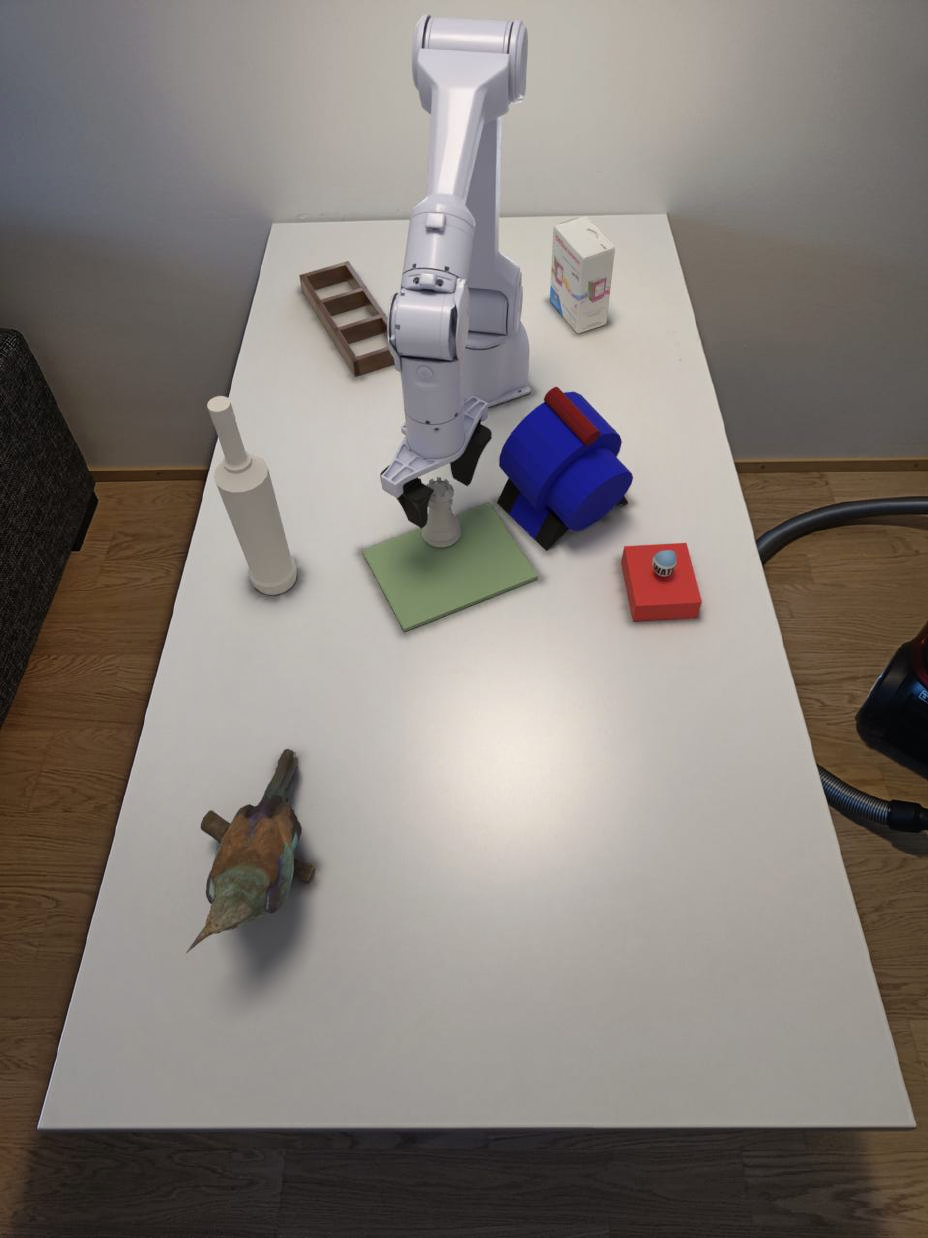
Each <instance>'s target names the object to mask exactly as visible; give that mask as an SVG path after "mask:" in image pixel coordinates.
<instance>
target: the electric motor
mask: <svg viewBox="0 0 928 1238" xmlns="http://www.w3.org/2000/svg"><path fill="white" fill-rule="evenodd" d="M622 443H623V441H622V438H621V435H620V434H619V433H618V432H617V430H616V429H615V428H614V427H612V426H611V424H610V423H609V422H608V421H607V420H606V419H605V418H604V417H603V416H602V415H601V414H600V413H599V412H598V411H597V410H596V409H595V407H593V406H592V404H591V403H590V402H589V401H588V400H587V399H586V398H585V397H584V396H583V394H580V393H579V392H576V391H562V390H561V388H559V387H558V386H553V387H552V388H550V390H548V391H547V392H546V393H545V394H544V396H543V402H542V403H541V404H539V405H538V406H536V407H534V409H533V410H531V411H530V412H529V413H528V414H526V415H525V417H523V418H522V419H521V420H520V422H519V423H518V424H517V425H516V426H515V428H513V430H512V431H511V433H510V434H509V436H508V437H507V439H506V440H505V442H504V444H503V445H502V448H501V451H500V453H499V456H498V466H499V468H500V470H501V471H502V472H503V473H504V474H505V475H506V476H507V480H506V482H505V484H504V486H503V488H502V491H501V492H500V495H499V497H498V499H497V501H496V503H497V505H498V506H500V508H501V509H502V510H504V511H505V513H507V514H508V515H509V516H510V517H511V518H512V519H513V520H514V521H515V522H516V523H517V524H518V525H519V526H520V527H521V528H522V529H523V530H524V531H525V532H526V533H527V534H528V535H529V536H530V537H531V538H532V539H534V540H535V542H536V543H537V544H538V545H540V546H541V547H542V548H543V549H544V550H545V551H548V550H549V549H550V548H551V547H552V546H553V545H555V544H556V542H558V540H560V539H561V538H562V537H563V536H564V535H565V534H566V533H567V532H568V531H570V532H575V533H576V532H579V531H583V530H585V529H587V528H589V527H591V526H592V525H594V524H596V523H597V522H599V521H600V520H602V519H603V518H604V517H605V516H606V515H608V514H609V513H610V512H611V511H612V510H614V508H615V507H617V506H622V505H628V504H629V501H628V500H627V498H626V496H625V495H626V494H627V493H628V491H629V490H630V488H631V486H632V484H633V480H634V475H633V473H632V472H631V471H630V470H629V469H628V468H627V466H626V465H625V464H624V463H623V462H622V461H621V460H620V459H619V458H618V455H619V454H620V452H621V447H622Z"/></svg>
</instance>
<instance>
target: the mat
mask: <svg viewBox="0 0 928 1238" xmlns="http://www.w3.org/2000/svg"><path fill="white" fill-rule="evenodd" d="M454 515H455V516H456V517H457V519H458V521H459V523H460V528H461V535H460V537H459V539H458V540H457V541H456V542H455V543H453V544H452V545H451V546H447V547H435V546H432V545H430V544H428V543H427V542H426V541H425V540H424V538H423V536H422V528H420V527H419V528H418V529H415V530H412V531H409V532H407V533H404V534H401V535H399V536H396V537H393V538H390V539H388V540H385V541H383V542H379V543H377V544H374V545H372V546H369V547H366V548H364V549H362V550H361V552H362V556H363V557H364V559H365V561H366V563H367V564H368V566H369V568H370V570H371V572H372V575H373V576H374V578H375V580H376V581H377V584H378V585H379V587H380V589H381V591H382V593H383V594H384V597H385V598H386V601H387V603H388V604H389V606H390V608H391V610H392V613H393V614H394V616H395V618H396V619H397V621H398V623H399V625H400V627H401V629H402V631H403V632H404V633H405V632H408V631H410V630H413V629H415V628H419V627H421V626H423V625H426V624H428V623H431V622H434V621H436V620H438V619H441V618H444V617H446V616H447V615H450V614H454V613H456V612H458V611H461V610H463V609H466V608H468V607H471V606H473V605H476V604H479V603H480V602H483V601H487V600H488V599H492V598H493V597H496V596H499V595H501V594H503V593H506V592H508V591H511V590H514V589H516V588H518V587H521V586H524V585H526V584H528V583H531V582H534V581H536V580H538V579H539V576H538V574H537V572H536V571H535V569H534V568H533V566H532V565H531V563H530V562H529V560H528V559H527V557H526V556H525V554H524V553H523V551H522V550H521V548H520V547H519V545H518V544H517V542H516V541H515V539H514V537H513V536H512V535H511V533H510V532H509V530H508V528H507V527H506V525H505V524H504V523H503V521H502V519H501V518H500V516H499V515H498V513H497V512H496V510H495V509H494V507H493V506H492V504H491V503H490V502H488V503H485V504H483V505H479V506H478V507H474V508H472V509H469V510H466V511H464V512H460V513H459V514H454Z"/></svg>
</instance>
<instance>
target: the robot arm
mask: <svg viewBox="0 0 928 1238" xmlns="http://www.w3.org/2000/svg"><path fill="white" fill-rule="evenodd" d="M528 35H529V34H528V29H527V27H526V25H525V24H524V21H523V20H522V19H519V18H517V19H514V21H513V20H497V19H480V18H479V19H478V18H464V17H463V18H461V17H443V16H442V17H441V16H431V14H422V16H421V17H420V18H419V20H418V21H417V22H416V24H415V27H414V30H413V35H412V43H411V73H412V74H411V75H412V80H413V81H412V82H413V84H414V87H415V89H416V90H417V92H418V97H419V101H420V107H421V108H422V109H423V110H424V111H426V113H428V115H430V125H429V143H428V144H429V145H428V159H427V161H428V162H427V180H426V196H425V198H424V199H423V200H422V201H420V202H419V203H418V204H417V205H414V207H413V208H412V210H411V212H410V217H409V223H408V231H407V238H406V246H405V253H404V259H403V267H402V273H401V280H400V287H399V288H400V289H399V293H398V292H397V291H394V292H393V293H392V295H391V297H390V299H389V300H390V301H389V305H388V309H387V310H388V311H387V318H388V319H387V334H388V339H387V347H389V350H390V353H391V355H392V356H393V358H394V363H395V364H394V370H395V371H396V372H398V373H400V381H401V389H402V390H401V391H402V400H403V401H402V402H403V410H404V421H405V422H403V423H402V424H401V426H400V430H401V431H400V432H401V433H402V434H403V435H404V438H403V439H402V441H401V443H400V446H399V447H398V449H397V451H396V453H395V455H394V457H393V458H392V460H391V462H390V464H389V465H388V466H386V467H385V468H384V469H383V470H382V471H380V475H379V476H380V477H379V478H380V483H381V489H382V491H384V492H386V493H387V494H389V495H390V496H392V497H394V498H395V499H396V500H397V502H398V503H399V505H400V506H401V508H402V510H403V512H404V514H405V516H406V519H407V521H408V522H410V523H411V524H413V525H415V526H416V527H418V528H419V529H420V528H423V527H424V526H425V525H426V524H427V520H428V512H429V507H428V503H429V500H430V497H431V495H432V493H433V492H434V490H433V489H431V488H430V487H428V486H427V484H425V483H423V481H422V478H420V477H422V476H424V475H426V474H429V473H430V472H433V471H435V470H437V469H440V468H441V467H444V466H446V465H449V467H450V474H451V476H452V479H454V480H455V481H457V482H459V483H461V484H462V485H464V486H465V487H468V486H470V484H472V481H473V478H474V475H475V472H476V470H477V466H478V464H479V461H480V458H481V456H482V454H483V452H484V451H485V448H486V447H487V445H488V444H489V443H490V441H492V439H493V438H492V437H493V434H492V430H491V429H490V428H489V427H487V426H485V425H483V424H482V423H483V422H485V421H486V420H487V419H488V418H489V408H490V407H493V406H496V405H499V404H502V403H505V402H508V401H511V400H513V399H516V398H519V397H523V396H526V395H528V394H530V393H531V387H530V386H529V370H530V369H529V367H530V342H529V337H528V333H527V330H526V328H525V326H524V324H523V322H522V321H521V319H522V311H523V300H524V299H523V298H524V290H523V289H524V287H523V285H522V283H523V279H522V278H523V275H522V271H521V267H520V265H519V264H517V262H515V261H514V260H512V259H511V258H509V257H508V256H507V255H505V254H504V253H502V252H501V251H499V248H500V247H499V245H500V244H499V242H500V200H501V199H500V196H501V159H502V157H501V155H502V154H501V153H502V152H501V151H502V150H501V149H502V117H503V116H504V115H507V114H508V113H509V110H510V105H517V104H520V103H523V101H524V98H525V96H526V90H527V71H528V70H527V67H528V52H529V51H528V50H529V36H528Z"/></svg>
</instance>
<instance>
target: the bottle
mask: <svg viewBox="0 0 928 1238" xmlns="http://www.w3.org/2000/svg"><path fill="white" fill-rule="evenodd" d="M206 407H207V410H208V413H209V415H210V418H211V421H212V424H213V427H214V429H215V431H216V434H217V438H218V440H219V443H220V446H221V449H222V452H223V455H224V457H223V459H222V461H221V462H220V463H219V464H218V465H217V467H215V470H214V474H213V479H214V482H215V485H216V487H217V490H218V492H219V494H220V498H221V501H222V503H223V505H224V507H225V510H226V513H227V515H228V518H229V520H230V523H231V526H232V528H233V530H234V533H235V537H236V539H237V541H238V543H239V546H240V549H241V551H242V553H243V556H244V558H245V561H246V564H247V566H248V572H247V573H248V576H249V579H250V581H251V583H252V585H253V586H254V588H255V589H256V590H258V591H259V592H260V593H262V594H265V595H268V596H277V595H280V594H283V593H286V592H287V591H288V590H290V589H291V588H292V587H293V586H294V584H295V582H296V580H297V574H298V567H297V565H296V562H295V559H294V557H293V556H292V555H291V551H290V548H289V544H288V540H287V536H286V532H285V529H284V525H283V520H282V517H281V512H280V509H279V504H278V501H277V497H276V494H275V489H274V486H273V481H272V478H271V474H270V469H269V466H268V463H267V461H266V460H265V459H263V458H262V457H261V456H259V455H257V454H253V453H249V452H248V451H246V449H245V445H244V443H243V440H242V437H241V433H240V430H239V427H238V423H237V420H236V415H235V412H234V408H233V405H232V402H231V399H230V398H229V397H228V396H225V395H217V396H214V397H212V398H210V399H209V401H208V402H207V405H206Z"/></svg>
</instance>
